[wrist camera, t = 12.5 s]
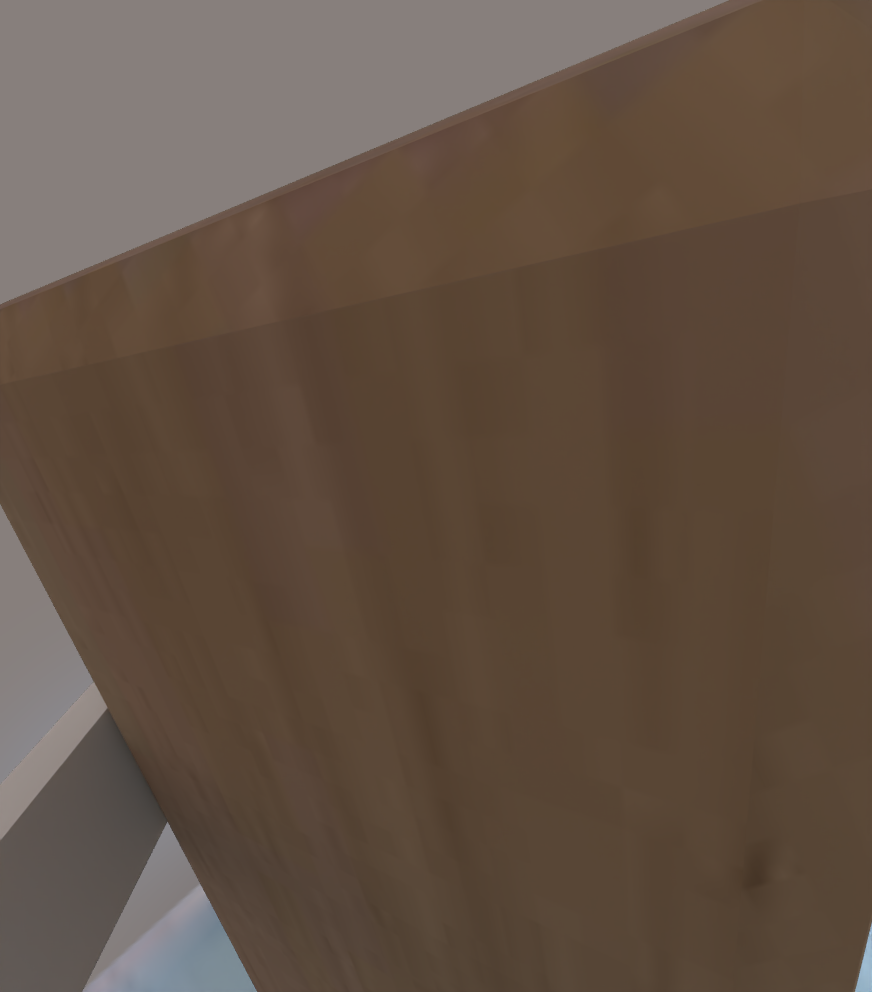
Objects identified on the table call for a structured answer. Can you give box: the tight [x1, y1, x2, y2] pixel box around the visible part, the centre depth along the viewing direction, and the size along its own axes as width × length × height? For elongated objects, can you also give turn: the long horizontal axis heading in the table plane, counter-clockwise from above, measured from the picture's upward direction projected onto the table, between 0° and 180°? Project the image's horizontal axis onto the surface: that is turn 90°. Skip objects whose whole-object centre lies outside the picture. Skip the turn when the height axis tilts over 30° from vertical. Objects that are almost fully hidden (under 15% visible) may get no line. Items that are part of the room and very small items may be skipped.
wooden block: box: [0, 0, 872, 992], centre depth 11 cm, size 10×10×20 cm
